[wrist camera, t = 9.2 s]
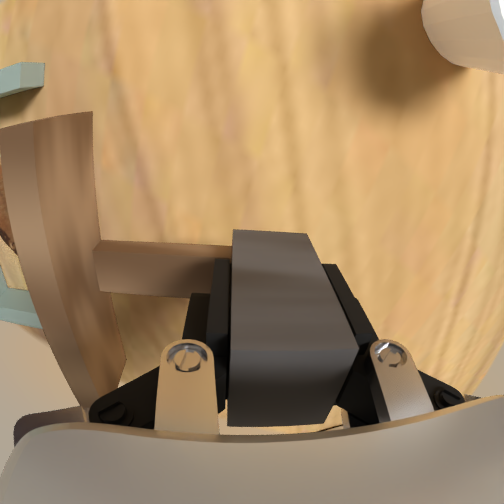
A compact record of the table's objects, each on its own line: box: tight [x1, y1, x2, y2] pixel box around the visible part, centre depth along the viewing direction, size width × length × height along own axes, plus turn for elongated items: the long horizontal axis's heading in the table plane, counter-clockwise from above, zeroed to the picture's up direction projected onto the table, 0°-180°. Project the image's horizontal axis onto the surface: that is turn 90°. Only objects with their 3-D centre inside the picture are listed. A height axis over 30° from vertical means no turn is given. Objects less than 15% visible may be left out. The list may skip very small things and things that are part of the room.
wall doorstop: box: [0, 111, 359, 427], centre depth 10 cm, size 13×10×6 cm
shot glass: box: [421, 0, 504, 75], centre depth 9 cm, size 7×7×7 cm
